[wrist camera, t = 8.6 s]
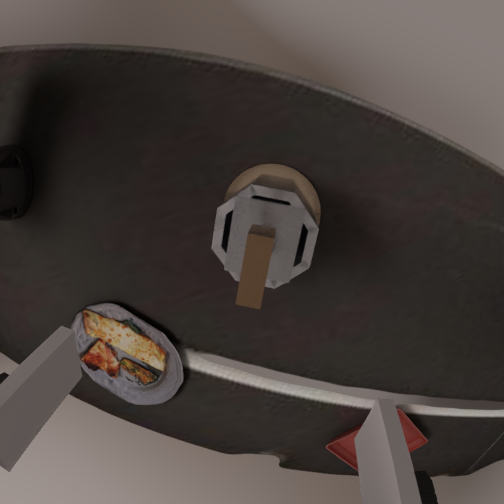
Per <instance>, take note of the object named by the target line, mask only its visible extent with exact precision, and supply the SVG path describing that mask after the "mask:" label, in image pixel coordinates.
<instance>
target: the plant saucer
mask: <svg viewBox="0 0 504 504" xmlns="http://www.w3.org/2000/svg"><path fill="white" fill-rule="evenodd" d="M396 409H397V413H398V416H399V419H400V422H401V426H402V429H403V433H404V436H405V440H406V443H407V447H408V450H409V452H411V451H413V450H415V449H417V448H418V447H420V446H422V445H424V444H426V443H427V442H428V440H427V439H426V438H425V436H424V435H423V434H422V433H421V432H420V431H419V429H418V428H417V427H416V426H415V425H414V424H413V423H412V421H411V420H410V419H409V418H408V417H407V415H406V414H405V413H404V412H403V411H402V410H401V409H400V408H397V407H396ZM362 425H363V423H362V424H360V425H358V426H356V427H354V428H353V429H351V430H349V431H346V432H344V433H342V434H340V435H338V436H337V437H335V438H334V439H332V440H331V441H330V442H329V443H328V444H327V445H326V448H327V449H328V450H329V451H331V452H332V453H333V454H335V455H336V456H338V457H339V458H340V459H342V460H343V461H344V462H346V463H347V464H349V465H350V466H351V467H353V468H354V469H356V470H357V471H358V463H357V456H356V448H355V441H354V438H355V437H356V435H357V433H358V432H359V430H360V429H361V427H362ZM358 472H359V471H358Z"/></svg>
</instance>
